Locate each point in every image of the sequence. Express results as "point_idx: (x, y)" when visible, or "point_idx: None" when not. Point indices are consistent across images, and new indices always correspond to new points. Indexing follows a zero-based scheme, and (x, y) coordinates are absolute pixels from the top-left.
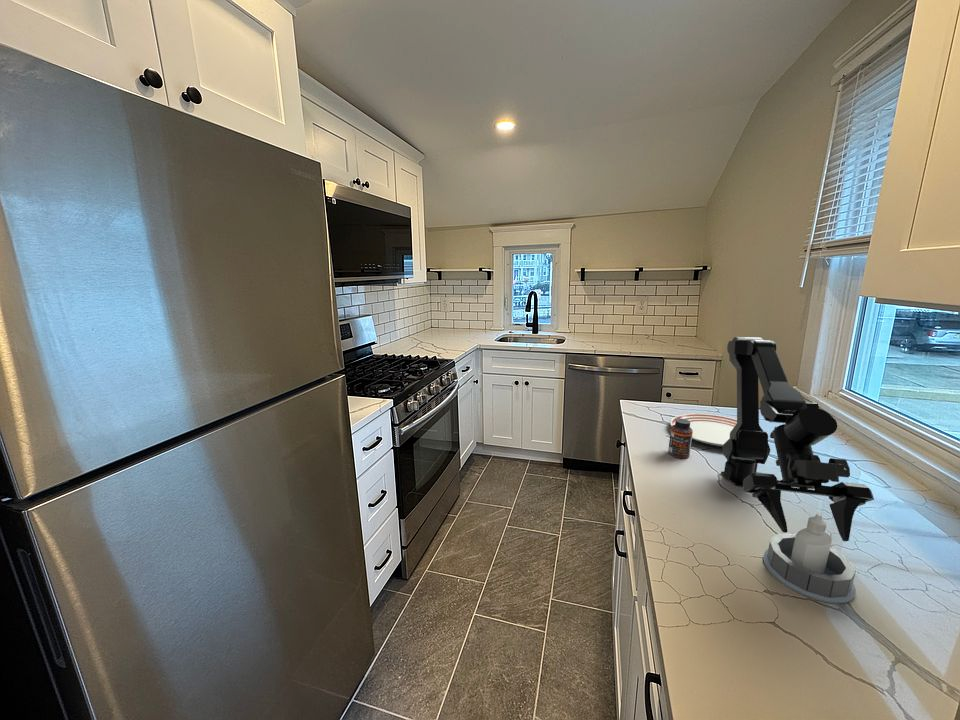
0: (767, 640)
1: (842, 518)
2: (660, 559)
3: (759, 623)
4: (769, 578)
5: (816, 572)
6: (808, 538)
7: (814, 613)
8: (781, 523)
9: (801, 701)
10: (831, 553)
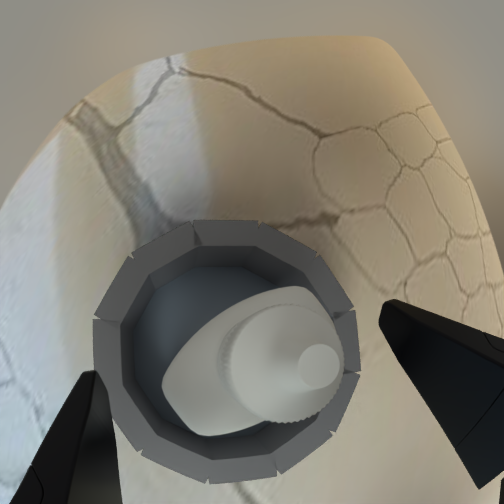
0: (328, 102)
1: (83, 495)
2: (484, 233)
3: (341, 129)
4: None
5: (236, 243)
6: (299, 291)
7: (238, 187)
8: (426, 313)
9: (290, 43)
10: (145, 416)
